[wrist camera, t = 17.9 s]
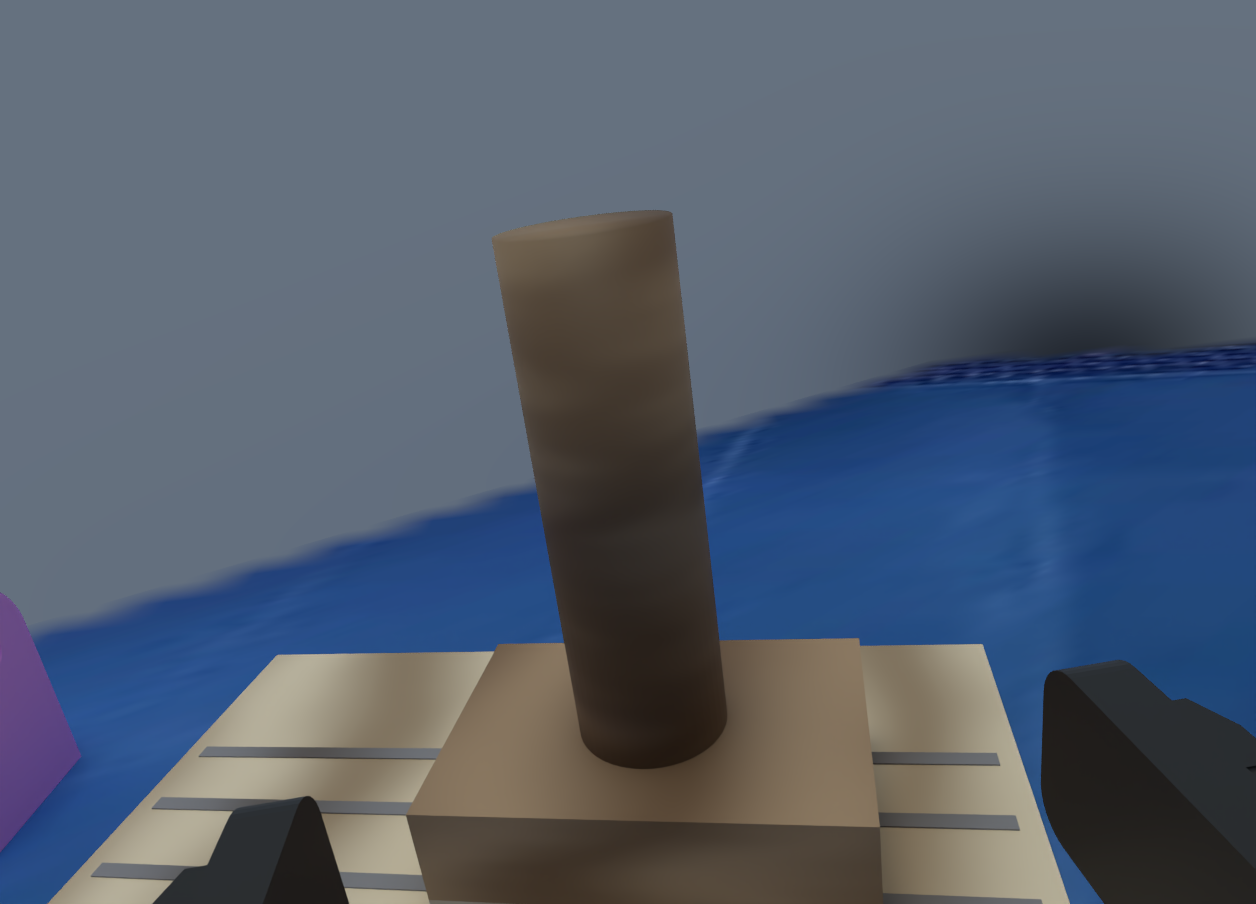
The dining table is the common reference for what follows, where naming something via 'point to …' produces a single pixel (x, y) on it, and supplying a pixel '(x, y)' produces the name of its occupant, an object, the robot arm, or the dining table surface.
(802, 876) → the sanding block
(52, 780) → the bracket
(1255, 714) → the dining table surface
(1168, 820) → the robot arm
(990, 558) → the dining table surface
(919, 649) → the pine board
